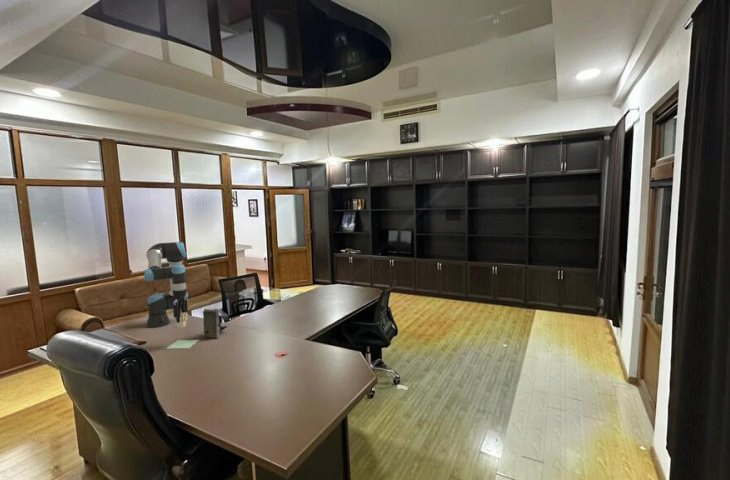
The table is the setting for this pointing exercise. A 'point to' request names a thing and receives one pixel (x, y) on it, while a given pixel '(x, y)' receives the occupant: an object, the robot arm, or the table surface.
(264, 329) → the table surface
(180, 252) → the robot arm
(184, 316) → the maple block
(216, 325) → the grey upright block
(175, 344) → the rest mat
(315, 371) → the table surface
